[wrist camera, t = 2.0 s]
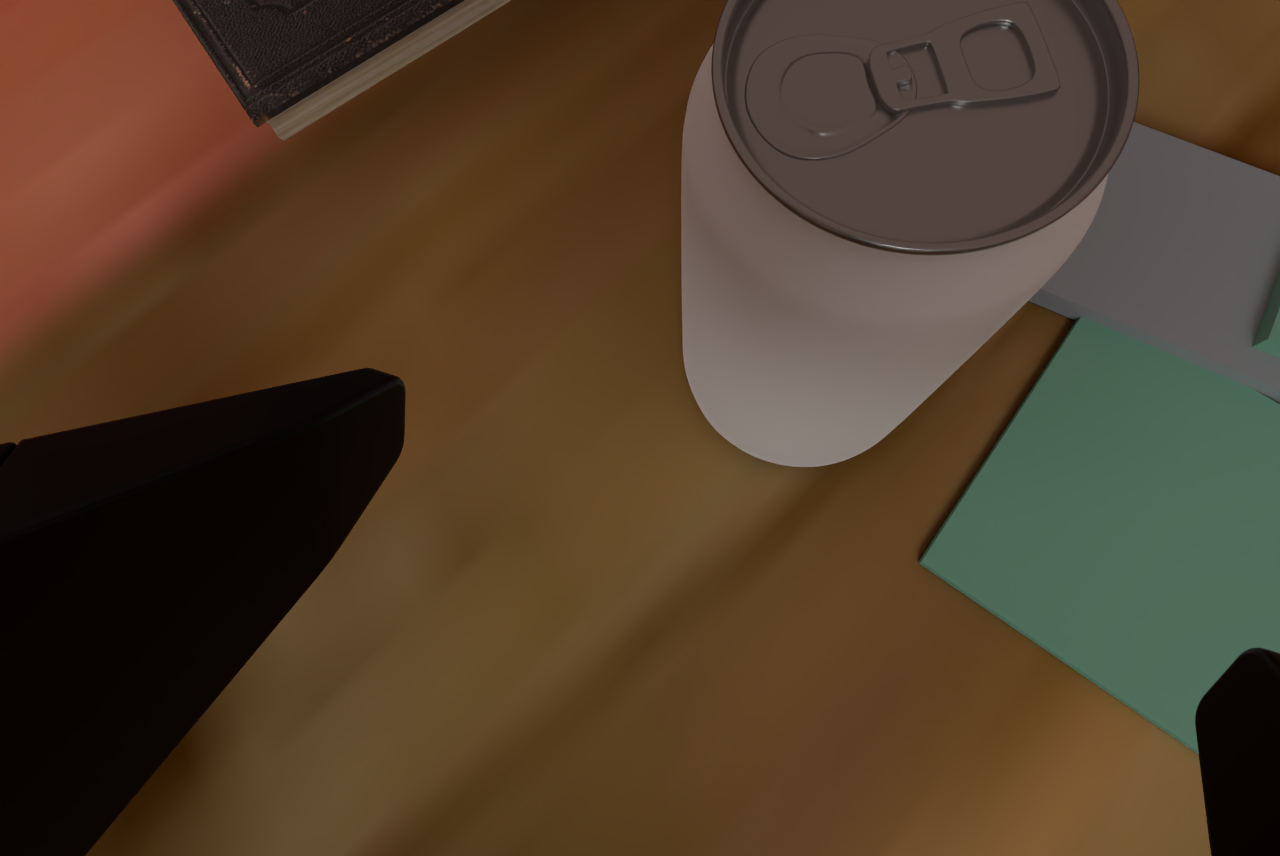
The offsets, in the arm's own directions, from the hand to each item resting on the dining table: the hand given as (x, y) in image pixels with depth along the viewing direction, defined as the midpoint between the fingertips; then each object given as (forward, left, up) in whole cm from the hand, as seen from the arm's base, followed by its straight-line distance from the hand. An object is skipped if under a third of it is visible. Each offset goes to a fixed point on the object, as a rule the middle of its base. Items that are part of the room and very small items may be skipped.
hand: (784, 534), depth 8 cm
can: (+6, -3, -13) cm, 15 cm away
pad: (0, -11, -13) cm, 17 cm away
